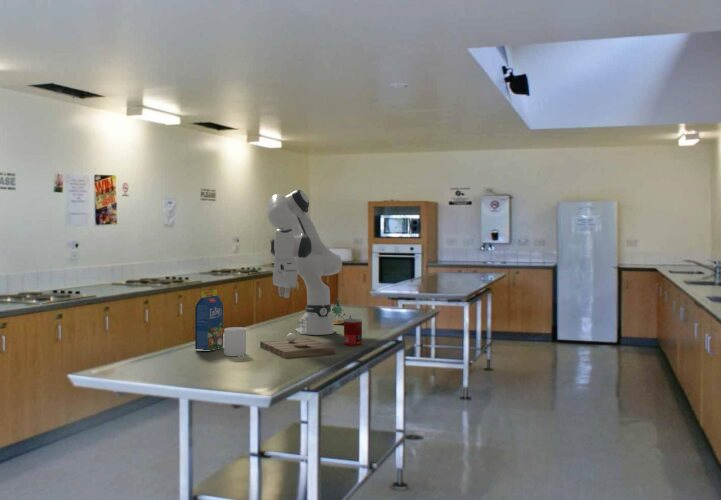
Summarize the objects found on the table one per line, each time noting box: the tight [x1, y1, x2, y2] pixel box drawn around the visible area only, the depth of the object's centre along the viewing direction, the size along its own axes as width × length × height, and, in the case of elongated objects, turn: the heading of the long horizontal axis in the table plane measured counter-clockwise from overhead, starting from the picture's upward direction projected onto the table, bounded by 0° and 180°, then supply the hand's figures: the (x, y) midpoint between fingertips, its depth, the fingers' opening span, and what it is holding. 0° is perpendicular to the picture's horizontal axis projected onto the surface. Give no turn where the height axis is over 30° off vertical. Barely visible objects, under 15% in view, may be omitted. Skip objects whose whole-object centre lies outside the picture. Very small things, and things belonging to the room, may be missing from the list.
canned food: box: [343, 318, 363, 347], centre depth 308 cm, size 8×8×11 cm
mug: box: [223, 326, 247, 357], centre depth 282 cm, size 9×12×11 cm
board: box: [259, 337, 336, 359], centre depth 292 cm, size 28×22×2 cm
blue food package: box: [194, 288, 224, 351], centre depth 293 cm, size 6×12×25 cm, turn 160°
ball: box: [285, 332, 297, 342], centre depth 297 cm, size 4×4×4 cm
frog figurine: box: [330, 297, 353, 325], centre depth 375 cm, size 10×18×15 cm, turn 75°
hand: (284, 297), depth 304 cm, fingers open, 4 cm apart
